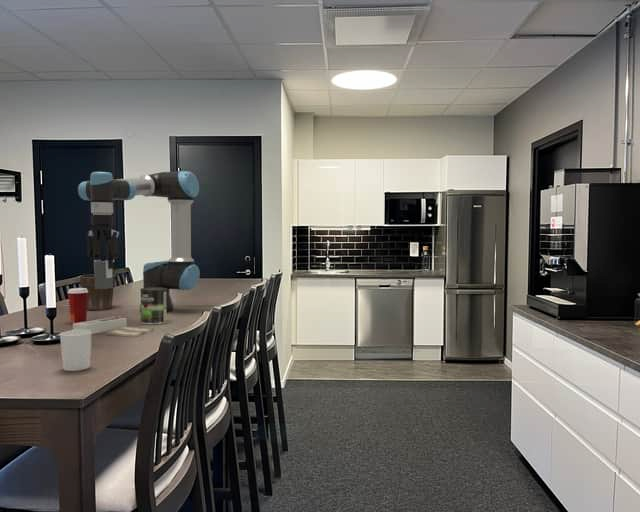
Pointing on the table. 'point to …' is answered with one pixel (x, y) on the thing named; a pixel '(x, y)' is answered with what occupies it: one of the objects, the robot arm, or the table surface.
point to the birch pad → (130, 331)
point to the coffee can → (153, 305)
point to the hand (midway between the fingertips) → (103, 277)
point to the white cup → (76, 349)
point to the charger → (102, 276)
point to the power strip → (102, 324)
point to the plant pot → (97, 294)
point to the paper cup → (78, 304)
